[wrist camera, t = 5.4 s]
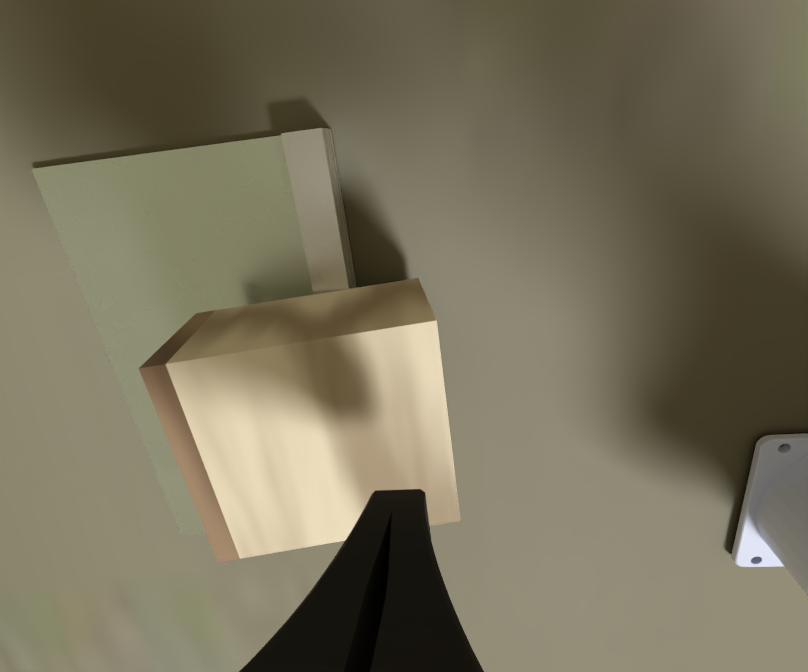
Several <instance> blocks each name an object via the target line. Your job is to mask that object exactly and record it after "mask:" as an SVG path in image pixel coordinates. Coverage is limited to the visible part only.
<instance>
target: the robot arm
mask: <svg viewBox="0 0 808 672" xmlns="http://www.w3.org/2000/svg"><path fill="white" fill-rule="evenodd" d="M782 444H784V445H783V446H782V447H779V446H781V445H782ZM732 559H733V560H734V562H735V563H736V564H737V565H738V566H742V567H765V566H785V568H786V569H787V570H788V571H789V573H790V574H791V575H792V576H793V577H794V579H795V580H796V581H797V582H798V584H799V585H800V586H801V587H802V589H803V590H804V591H805V592H806V594H807V595H808V433H805V434H784V435H768V436H764V437H762V438H760V439H759V440H758V441H757V443H756V447H755V451H754V456H753V460H752V465H751V469H750V474H749V478H748V483H747V487H746V492H745V496H744V501H743V505H742V510H741V514H740V519H739V523H738V528H737V532H736V537H735V542H734V546H733V551H732ZM239 672H484V671H483V669H482V667H481V665H480V663H479V662H478V660H477V658H476V656H475V654H474V652H473V650H472V648H471V646H470V644H469V641H468V639H467V637H466V635H465V633H464V631H463V628H462V626H461V624H460V622H459V619H458V617H457V615H456V612H455V610H454V607H453V605H452V603H451V600H450V597H449V595H448V592H447V590H446V587H445V584H444V581H443V578H442V576H441V573H440V570H439V567H438V564H437V561H436V557H435V554H434V550H433V546H432V543H431V535H430V527H429V519H428V511H427V503H426V495H425V492H424V491H423V490H421V489H405V490H376V491H374V492H373V493H372V494H371V496H370V498H369V500H368V502H367V504H366V506H365V508H364V510H363V512H362V513H361V515H360V517H359V519H358V520H357V522H356V524H355V526H354V527H353V529H352V531H351V532H350V534H349V536H348V537H347V539H346V540H345V542H344V544H343V545H342V547H341V548H340V550H339V552H338V553H337V555H336V556H335V558H334V559H333V561H332V562H331V564H330V565H329V566H328V568H327V569H326V571H325V572H324V573H323V575H322V576H321V578H320V579H319V581H318V582H317V583H316V585H315V586H314V587H313V589H312V590H311V591H310V593H309V594H308V595H307V597H306V598H305V599H304V601H303V602H302V603H301V604H300V606H299V607H298V608H297V609H296V610H295V612H294V613H293V614H292V615H291V616H290V618H289V619H288V620H287V621H286V622H285V624H284V625H283V626H282V627H281V628H280V629H279V630H278V631H277V633H276V634H275V635H274V636H273V637H272V638H271V639H270V640H269V641H268V643H267V644H266V645H265V646H264V647H263V648H262V649H261V650H260V651H259V652H258V653H257V654H256V655H255V656H254V657H253V658H252V659H251V661H250V662H249V663H248V664H247V665H245V666H244V667H243V668H242V669H241V670H240V671H239Z"/></svg>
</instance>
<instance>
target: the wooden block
mask: <svg viewBox="0 0 808 672" xmlns="http://www.w3.org/2000/svg"><path fill="white" fill-rule="evenodd" d="M139 371H140V373H141V376H142V378H143V381H144V383H145V385H146V388H147V390H148V393H149V395H150V398H151V400H152V402H153V405H154V407H155V410H156V412H157V415H158V417H159V420H160V422H161V424H162V427H163V429H164V432H165V434H166V437H167V439H168V441H169V444H170V446H171V449H172V451H173V454H174V456H175V459H176V461H177V463H178V466H179V468H180V471H181V473H182V476H183V478H184V480H185V483H186V485H187V488H188V490H189V493H190V495H191V497H192V500H193V502H194V505H195V507H196V510H197V512H198V515H199V517H200V519H201V522H202V524H203V527H204V529H205V532H206V534H207V536H208V539H209V541H210V544H211V546H212V549H213V551H214V553H215V556H216V558H217V561H218V562H223V561H229V560H235V559H240V558H246V557H252V556H258V555H264V554H269V553H275V552H281V551H287V550H293V549H298V548H304V547H310V546H316V545H322V544H327V543H333V542H339V541H345V540H346V539H347V537H348V536H349V534H350V532H351V531H352V529H353V527H354V526H355V524H356V522H357V520H358V519H359V517H360V515H361V513H362V512H363V510H364V508H365V506H366V504H367V502H368V500H369V498H370V496H371V494H372V493H373V492H374V491H376V490H405V489H421V490H423V491H424V492H425V495H426V503H427V511H428V519H429V526H432V525H438V524H443V523H449V522H455V521H460V513H459V504H458V496H457V487H456V479H455V471H454V462H453V454H452V446H451V437H450V429H449V420H448V412H447V404H446V395H445V387H444V378H443V370H442V362H441V353H440V345H439V336H438V328H437V320H436V318H435V316H434V313H433V311H432V309H431V307H430V304H429V302H428V300H427V297H426V295H425V293H424V291H423V288H422V286H421V284H420V281H419V279H418V278H415V279H409V280H402V281H396V282H390V283H384V284H377V285H371V286H365V287H358V288H352V289H346V290H339V291H333V292H327V293H320V294H314V295H308V296H302V297H295V298H289V299H283V300H276V301H270V302H264V303H257V304H251V305H245V306H239V307H232V308H226V309H220V310H213V311H207V312H201V313H196V314H195V315H194V316H193V317H192V318H191V319H189V320H188V321H187V322H186V323H185V324H184V325H183V326H182V327H181V328H180V329H179V330H178V331H177V332H176V333H175V334H174V335H173V336H172V337H171V338H170V339H169V340H168V341H167V342H166V343H165V344H163V345H162V346H161V347H160V348H159V349H158V350H157V351H156V352H155V353H154V354H153V355H152V356H151V357H150V358H149V359H148V360H147V361H146V362H145V363H144V364H143V365H142V366H141V367H140V368H139Z"/></svg>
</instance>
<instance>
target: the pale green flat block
mask: <svg viewBox="0 0 808 672" xmlns="http://www.w3.org/2000/svg"><path fill="white" fill-rule="evenodd" d="M31 170H32V172H33V175H34V177H35V179H36V182H37V184H38V187H39V189H40V192H41V194H42V197H43V199H44V201H45V204H46V206H47V209H48V211H49V214H50V216H51V219H52V221H53V223H54V226H55V228H56V231H57V233H58V236H59V238H60V241H61V243H62V246H63V248H64V250H65V253H66V255H67V258H68V260H69V263H70V265H71V268H72V270H73V272H74V275H75V277H76V280H77V282H78V285H79V287H80V290H81V292H82V294H83V297H84V299H85V302H86V304H87V307H88V309H89V312H90V314H91V316H92V319H93V321H94V324H95V326H96V329H97V331H98V334H99V336H100V339H101V341H102V343H103V346H104V348H105V351H106V353H107V356H108V358H109V361H110V363H111V365H112V368H113V370H114V373H115V375H116V378H117V380H118V383H119V385H120V387H121V390H122V392H123V395H124V397H125V400H126V402H127V405H128V407H129V409H130V412H131V414H132V417H133V419H134V422H135V424H136V427H137V429H138V432H139V434H140V436H141V439H142V441H143V444H144V446H145V449H146V451H147V454H148V456H149V458H150V461H151V463H152V466H153V468H154V471H155V473H156V476H157V478H158V480H159V483H160V485H161V488H162V490H163V493H164V495H165V498H166V500H167V503H168V505H169V507H170V510H171V512H172V515H173V517H174V520H175V522H176V525H177V527H178V529H179V532H180V534H199V533H206V532H205V529H204V527H203V524H202V522H201V519H200V517H199V515H198V512H197V510H196V507H195V505H194V502H193V500H192V497H191V495H190V493H189V490H188V488H187V485H186V483H185V480H184V478H183V476H182V473H181V471H180V468H179V466H178V463H177V461H176V459H175V456H174V454H173V451H172V449H171V446H170V444H169V441H168V439H167V437H166V434H165V432H164V429H163V427H162V424H161V422H160V420H159V417H158V415H157V412H156V410H155V407H154V405H153V402H152V400H151V398H150V395H149V393H148V390H147V388H146V385H145V383H144V381H143V378H142V376H141V373H140V371H139V368H140V367H141V366H142V365H143V364H144V363H145V362H146V361H147V360H148V359H149V358H150V357H151V356H152V355H153V354H154V353H155V352H156V351H157V350H158V349H159V348H160V347H161V346H162V345H163V344H165V343H166V342H167V341H168V340H169V339H170V338H171V337H172V336H173V335H174V334H175V333H176V332H177V331H178V330H179V329H180V328H181V327H182V326H183V325H184V324H185V323H186V322H187V321H188V320H189V319H191V318H192V317H193V316H194V315H195V314H196V313H201V312H207V311H213V310H220V309H226V308H232V307H239V306H245V305H251V304H257V303H264V302H270V301H276V300H283V299H289V298H295V297H302V296H308V295H314V294H320V293H327V292H333V291H339V290H346V289H352V288H357V284H356V278H355V272H354V266H353V260H352V253H351V247H350V241H349V235H348V229H347V223H346V217H345V211H344V204H343V198H342V192H341V186H340V180H339V174H338V168H337V161H336V155H335V149H334V143H333V137H332V131H331V129H327V128H317V129H309V130H302V131H294V132H287V133H281V135H279V136H272V137H265V138H257V139H250V140H242V141H235V142H227V143H220V144H213V145H205V146H198V147H190V148H183V149H175V150H168V151H160V152H153V153H146V154H138V155H131V156H123V157H116V158H108V159H101V160H93V161H86V162H79V163H71V164H64V165H56V166H49V167H41V168H34V169H31Z"/></svg>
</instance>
